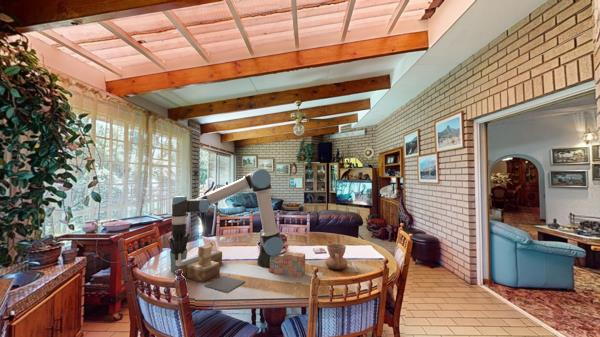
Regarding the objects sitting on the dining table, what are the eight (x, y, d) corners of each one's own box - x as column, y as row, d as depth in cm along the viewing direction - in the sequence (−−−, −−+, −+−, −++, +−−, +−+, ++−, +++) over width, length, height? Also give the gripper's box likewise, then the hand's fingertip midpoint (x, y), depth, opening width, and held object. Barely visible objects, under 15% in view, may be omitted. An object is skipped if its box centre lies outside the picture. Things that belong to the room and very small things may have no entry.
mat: (245, 282, 136) (245, 281, 136) (227, 293, 123) (227, 291, 123) (223, 276, 143) (223, 275, 143) (204, 286, 131) (204, 285, 131)
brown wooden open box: (237, 266, 160) (237, 254, 160) (199, 284, 132) (199, 271, 133) (217, 261, 168) (217, 250, 168) (177, 278, 140) (177, 265, 140)
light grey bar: (206, 257, 154) (206, 253, 154) (183, 265, 139) (183, 261, 139) (203, 256, 155) (203, 252, 155) (180, 265, 140) (180, 260, 140)
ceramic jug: (325, 262, 168) (325, 241, 169) (346, 263, 166) (346, 242, 167) (324, 272, 150) (324, 249, 151) (348, 274, 148) (348, 250, 149)
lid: (218, 266, 146) (218, 245, 146) (203, 273, 136) (204, 250, 136) (198, 262, 153) (198, 242, 154) (183, 267, 143) (183, 246, 144)
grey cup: (182, 264, 162) (183, 246, 162) (190, 268, 155) (190, 249, 156) (166, 269, 154) (167, 250, 154) (173, 273, 147) (174, 253, 148)
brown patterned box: (269, 272, 150) (269, 252, 150) (273, 269, 156) (273, 249, 156) (302, 277, 143) (302, 256, 143) (305, 273, 149) (305, 253, 149)
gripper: (184, 220, 146) (183, 260, 145) (164, 224, 134) (163, 268, 133) (193, 221, 142) (192, 262, 142) (173, 226, 131) (172, 270, 130)
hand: (178, 265), depth 138 cm, fingers closed
